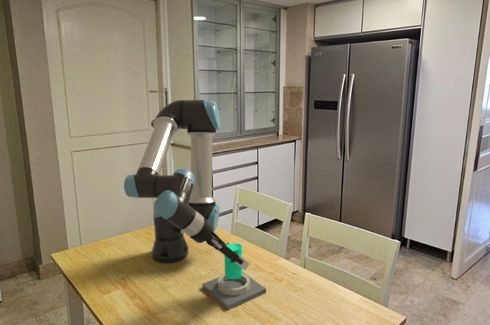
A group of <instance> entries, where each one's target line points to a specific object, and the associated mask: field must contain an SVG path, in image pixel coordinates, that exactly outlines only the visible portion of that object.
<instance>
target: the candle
mask: <svg viewBox="0 0 490 325" xmlns="http://www.w3.org/2000/svg"><path fill="white" fill-rule="evenodd" d="M228 243H229V244H227V243H226V244H227V245H226V246H227V247H229V248H230V249H231V250H232V251H234V252H235V253H237V254H238V255H239V256H241V257H242V258H243V245H242V244H241V243H239V242H238V243H233V242H232V243H231V242H228ZM230 261H231V260H230V259H229V258H228V257H226V256H225V255H224V275H225V276H226V277H227V278H229V279H238V278H240V277H241V276H242V272H243V268H241V267H240V266H239V265H237V264H236V263H234V262H233V263H231V262H230Z"/></svg>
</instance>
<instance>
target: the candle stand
mask: <svg viewBox="0 0 490 325" xmlns="http://www.w3.org/2000/svg"><path fill="white" fill-rule="evenodd" d="M201 287H202V289H203V290H204V291H206V292H207V293H208V294H209V295H210V296H211V297H212V298H214V299H215V300H216V301H217V302H218V303H219V304H220V305H222V306H223V307H224V308H226V310H231V309H233V308H236V307H238V306H239V305H241V304H244V303H247V302H248V301H251V300H253V299H254V298H257V297H259V296H261V295H263V294H265V293H267V288H266V287H265V286H263V285H262V284H260V283H259V282H258V281H256V280H255V279H254V278H252V277H250V276H249V275H247V274H246V273H245V272H243V271H242V276H241V277H240V278H238V279H229V278H227V277H226V276H225V274H222V275H221V276H219V277H216V278H213V279H211V280H209V281H208V280H207V281H206V282H203V283H202V284H201Z"/></svg>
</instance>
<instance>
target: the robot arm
mask: <svg viewBox="0 0 490 325" xmlns="http://www.w3.org/2000/svg"><path fill="white" fill-rule="evenodd" d="M219 110H220V109H219V106H218V104H217V103H216V102H215V101H214V100H209V99H192V100H190V99H187V100H184V99H178V100H174V101H172V102H169V104H167V105H166V106H164V107H163V108H162V109H161V110H160V111H159V112H158V113H157V115H156V116H155V118H154V121H153V128H154V129H153V130H152V134H151V136H150V139H149V141H148V143H147V146H146V149H145V152H144V153H143V156H142V158H141V161H140V164H139V166H138V169H137V171H136V173H135V174H134V173H133V174H128V175H127V176H126V177H125V179H124V183H123V190H124V193H125V195H126V196H127V197H129V198H134V199H135V198H137V199H141V198H143V199H147V198H148V199H155V201H154V204H153V216H152V217H153V226H154V235H155V236H154V242H153V246H152V249H151V257H152V259H153V260H154V261H156V262H158V263H163V264H168V263H176V262H179V261H181V260H184V259H185V258H187V257H188V255H189V245H188V243H187V241H186V239H185V235H186V236H188V237H190V238H191V240H193V241H194V242H195V243H198V244H202V243H206V244H207V245H208V246H210V247H212V248H213V249H215V250H216V251H218V252H220V253H221V254H222V255H224V257H225V256H226V257H228V258H229V259H230V260H231V261H230V262H231V263H233V262H234V263H236V264H237V265H239V266H240V267H241V268H242V270H244V271H246V269H247V268H248V267H249V266H250V264H251V263H250V262H249V261H248V260H246V259H244V258H243V256H242V257H241V256H239V255H238V254H237V253H235V252H234V251H232V250H231V249H230V248H229V247H227V246H226V245H227V244H229V243H230V242H227V243H226V242H225V241H223V240H222V239H221V238H220V237H219V236H218V235H217V234H216V233H215V231H216V230H217V228H218V223H219V218H220V205H218V204H216V199H215V198H214V197H213V137H214V136H216V134H217V130H219V129H220V128H221V118H220V111H219ZM178 130H186V132H187V135H188V136H189V137H190V170H189V169H186V168H178V169H177V170H175V171H174V172H173V173H172V175H164V174H163V175H161V172H162V169H163V166H164V163H165V160H166V157H167V155H168V151H169V149H170V145H171V142H172V141H173V137H174V135H176V134H177V132H178Z"/></svg>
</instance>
